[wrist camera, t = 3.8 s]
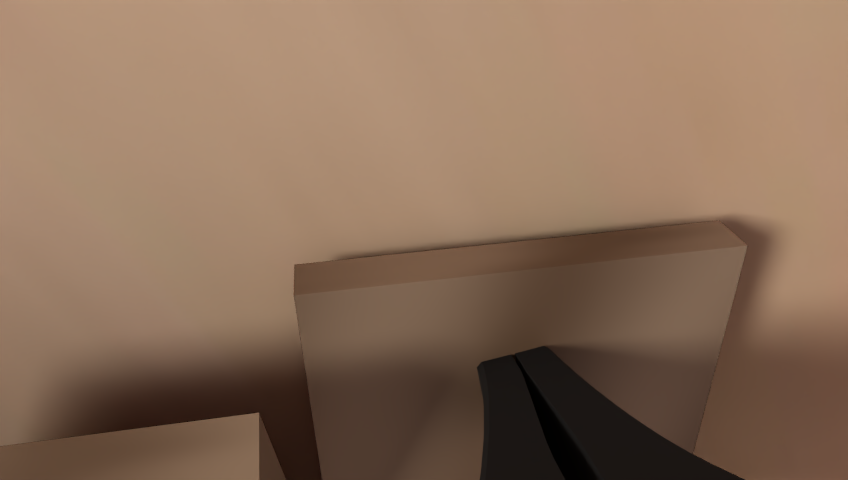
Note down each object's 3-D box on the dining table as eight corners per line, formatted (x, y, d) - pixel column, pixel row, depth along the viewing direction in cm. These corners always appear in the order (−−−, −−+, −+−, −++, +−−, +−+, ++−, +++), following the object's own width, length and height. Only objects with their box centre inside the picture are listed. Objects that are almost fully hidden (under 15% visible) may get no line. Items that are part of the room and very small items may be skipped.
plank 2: (718, 220, 13) (748, 245, 12) (651, 510, 18) (669, 543, 17) (294, 264, 12) (293, 295, 11) (338, 560, 17) (340, 597, 16)
